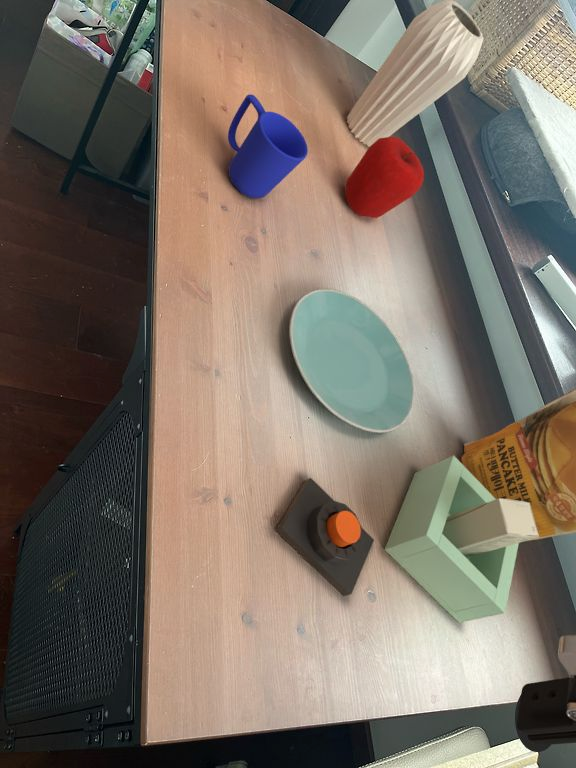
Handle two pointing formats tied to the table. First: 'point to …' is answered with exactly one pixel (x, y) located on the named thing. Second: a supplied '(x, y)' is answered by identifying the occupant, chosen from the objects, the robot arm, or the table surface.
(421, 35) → the vase
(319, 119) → the table surface
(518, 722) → the robot arm
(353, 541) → the button
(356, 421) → the plate
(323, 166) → the table surface
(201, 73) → the table surface
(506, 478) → the pancake mix bag
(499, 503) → the cosmetic box
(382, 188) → the apple
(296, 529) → the block
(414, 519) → the mint green storage bin
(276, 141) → the mug
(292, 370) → the table surface
